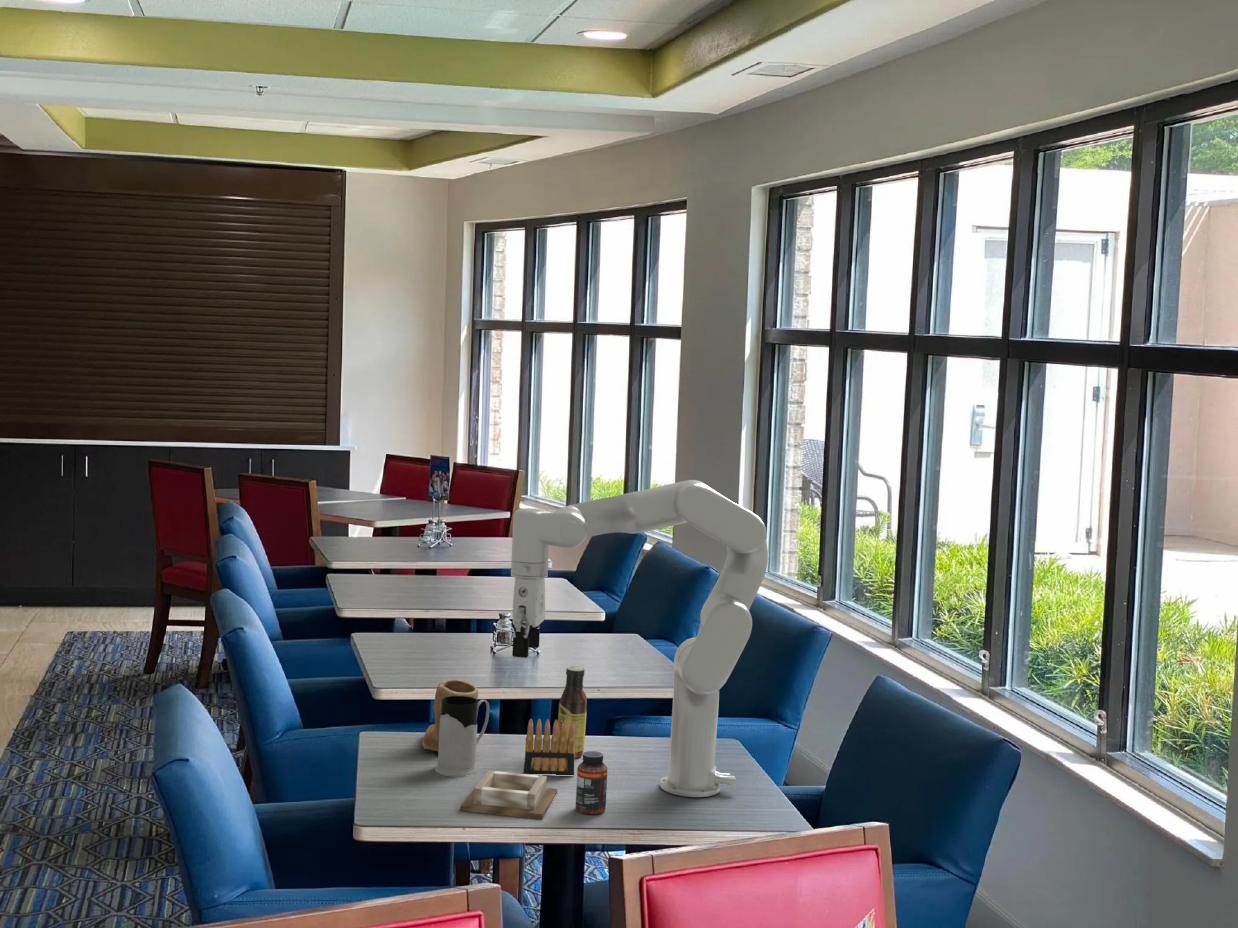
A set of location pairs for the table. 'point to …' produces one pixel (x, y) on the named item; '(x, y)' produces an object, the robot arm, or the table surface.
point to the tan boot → (443, 690)
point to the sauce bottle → (574, 707)
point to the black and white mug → (459, 735)
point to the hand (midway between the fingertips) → (525, 651)
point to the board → (511, 795)
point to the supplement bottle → (591, 784)
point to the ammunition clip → (556, 758)
